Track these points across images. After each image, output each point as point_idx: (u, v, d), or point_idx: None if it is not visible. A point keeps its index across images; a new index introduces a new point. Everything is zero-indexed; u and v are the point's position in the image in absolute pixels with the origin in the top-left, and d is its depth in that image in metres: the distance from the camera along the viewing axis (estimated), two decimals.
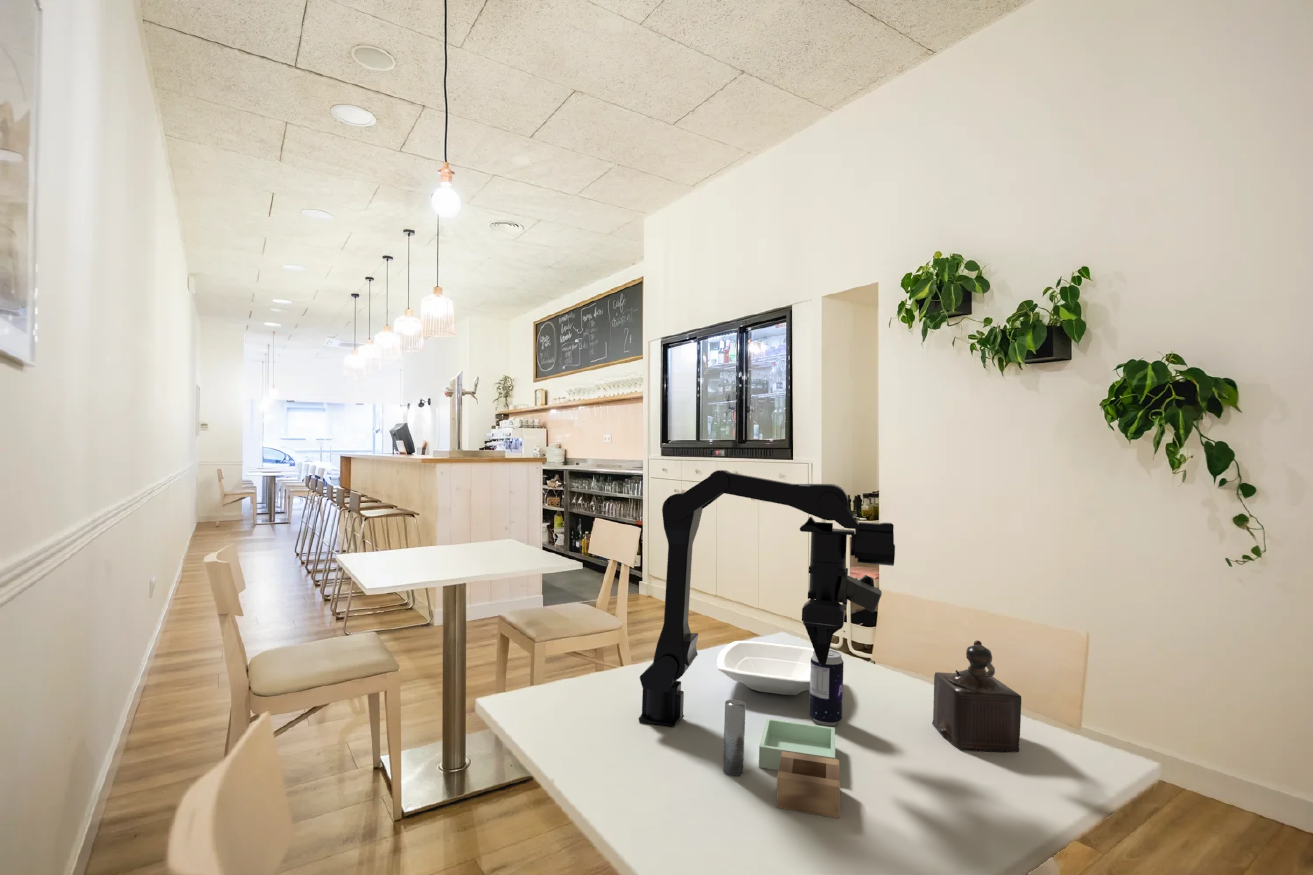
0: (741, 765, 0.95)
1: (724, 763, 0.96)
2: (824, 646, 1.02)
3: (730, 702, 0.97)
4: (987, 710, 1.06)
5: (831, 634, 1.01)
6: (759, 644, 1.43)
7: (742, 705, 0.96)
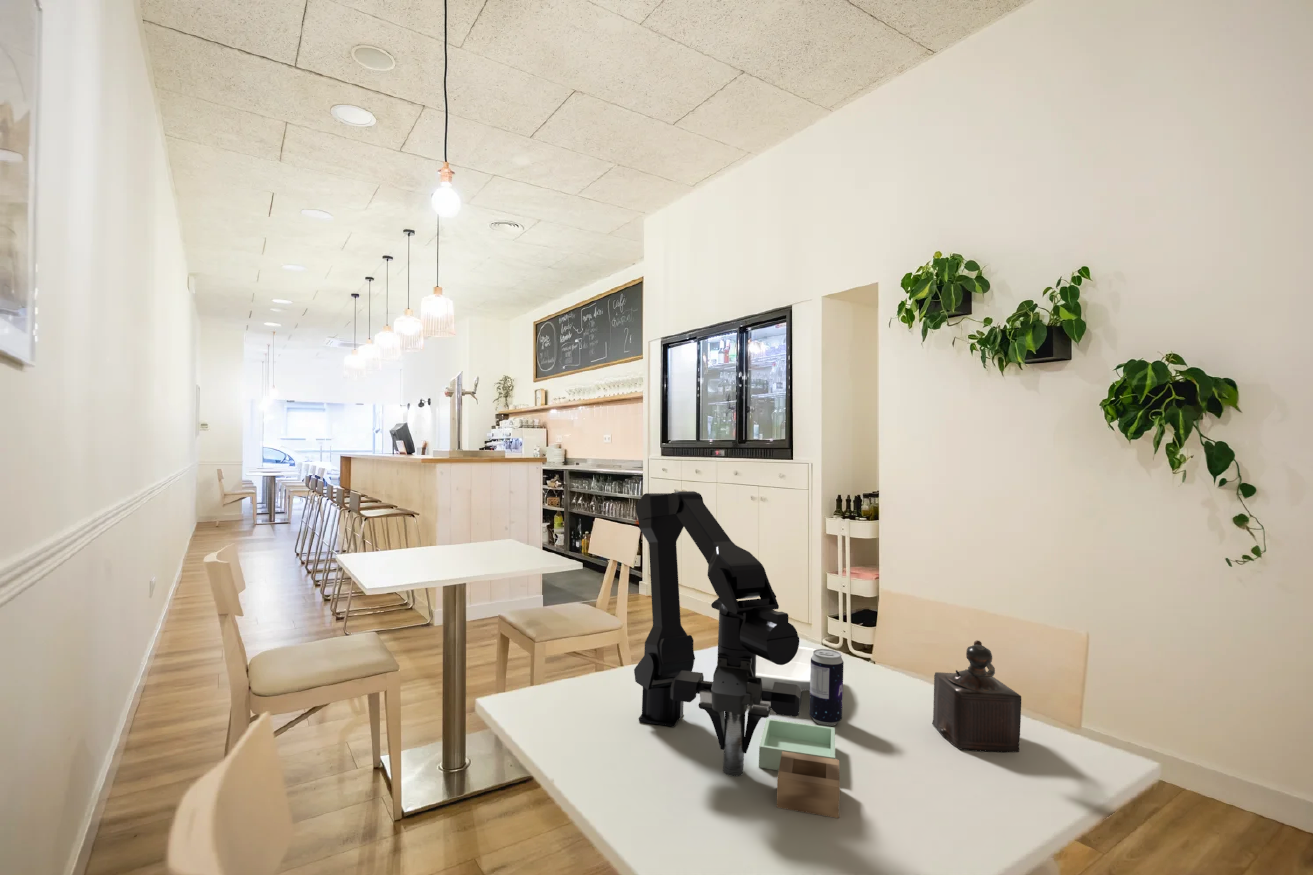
0: (741, 765, 0.95)
1: (724, 763, 0.96)
2: None
3: None
4: (987, 710, 1.06)
5: None
6: None
7: None
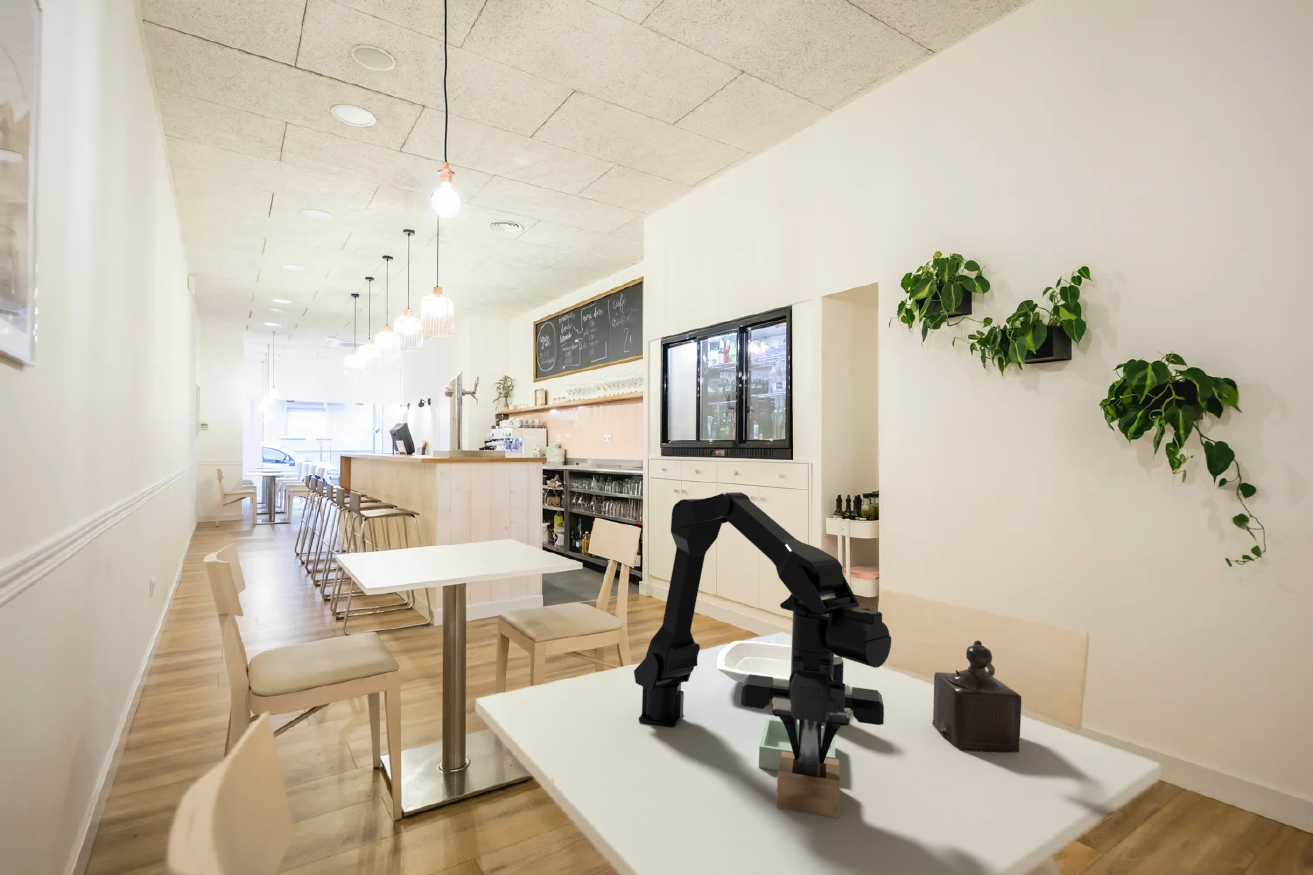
0: (818, 776, 0.89)
1: None
2: None
3: None
4: (987, 710, 1.06)
5: None
6: (759, 644, 1.43)
7: None
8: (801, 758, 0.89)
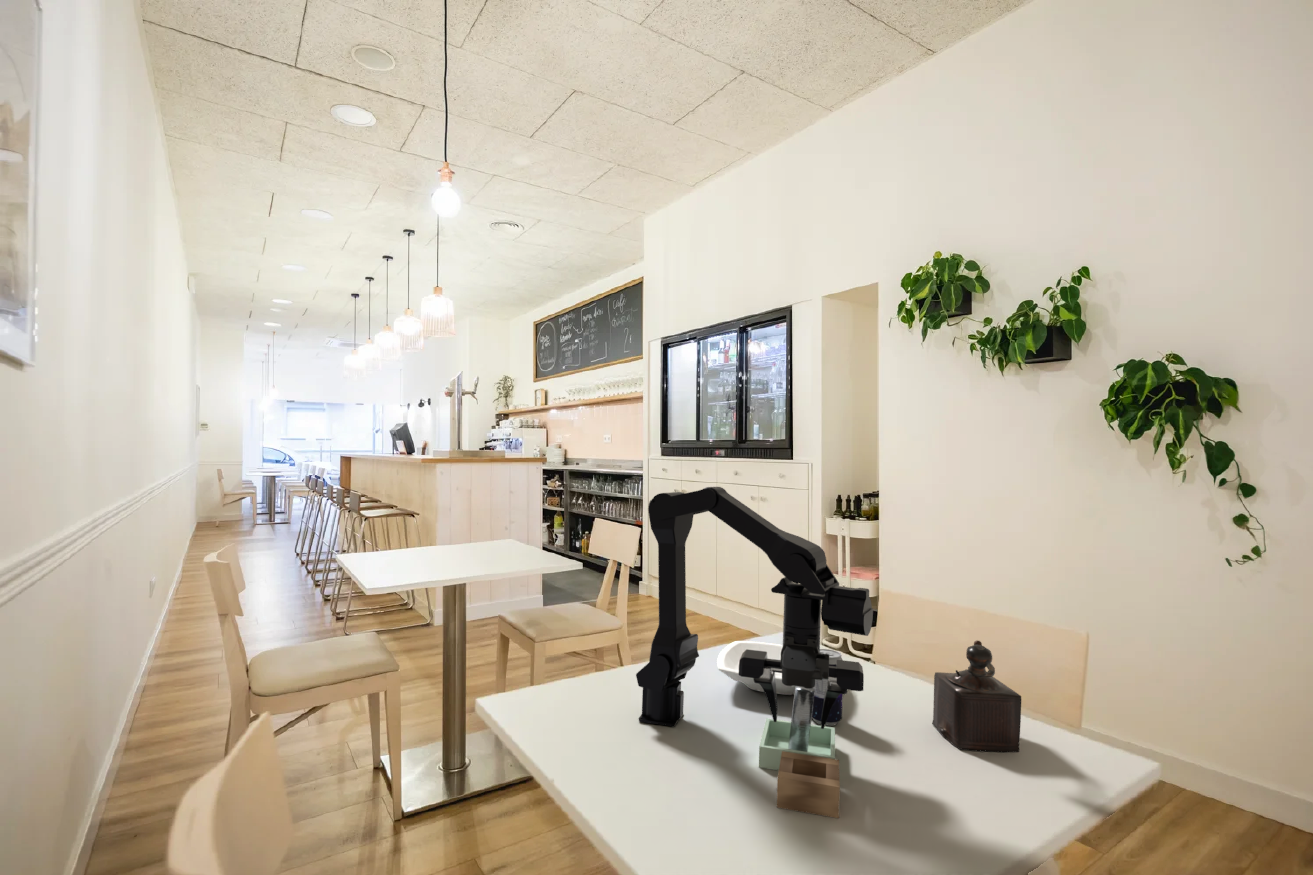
0: (806, 747, 1.01)
1: (790, 744, 1.01)
2: None
3: (800, 687, 1.02)
4: (987, 710, 1.06)
5: None
6: (759, 644, 1.43)
7: (812, 691, 1.01)
8: (793, 730, 1.01)
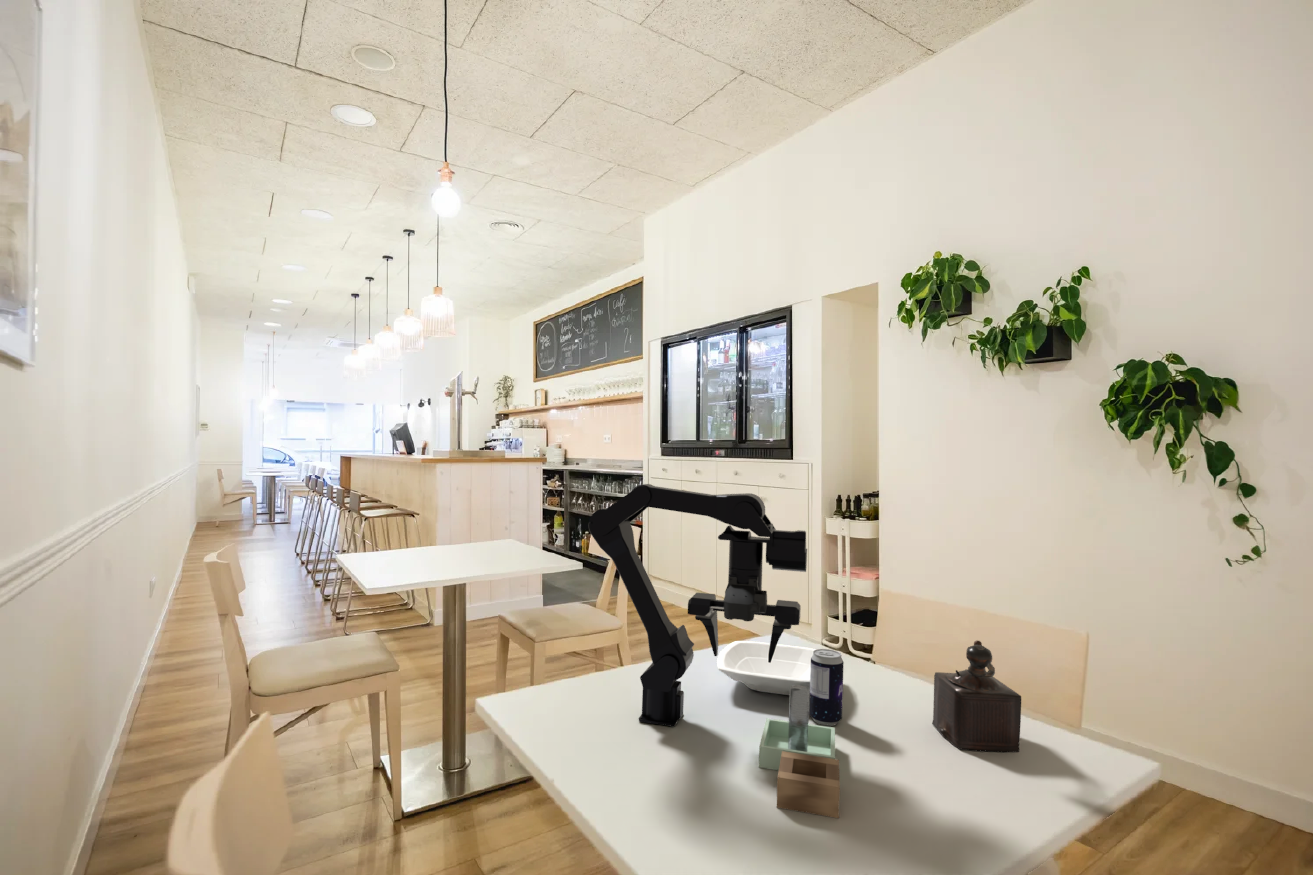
0: (806, 747, 1.01)
1: (789, 745, 1.01)
2: None
3: (794, 687, 1.02)
4: (987, 710, 1.06)
5: None
6: (759, 644, 1.43)
7: (806, 690, 1.01)
8: (791, 731, 1.01)
